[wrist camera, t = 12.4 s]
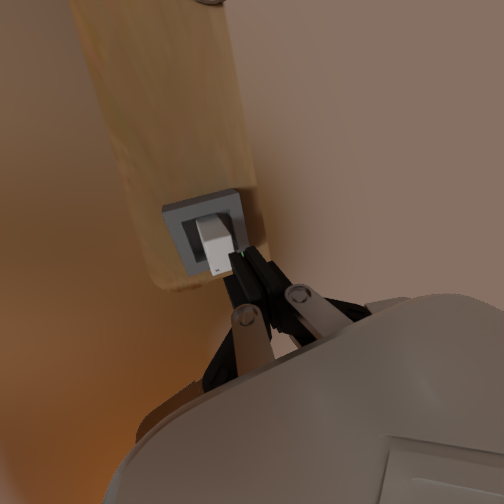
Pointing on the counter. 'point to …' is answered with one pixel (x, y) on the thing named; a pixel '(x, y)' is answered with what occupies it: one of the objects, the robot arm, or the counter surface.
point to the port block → (186, 230)
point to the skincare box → (215, 242)
